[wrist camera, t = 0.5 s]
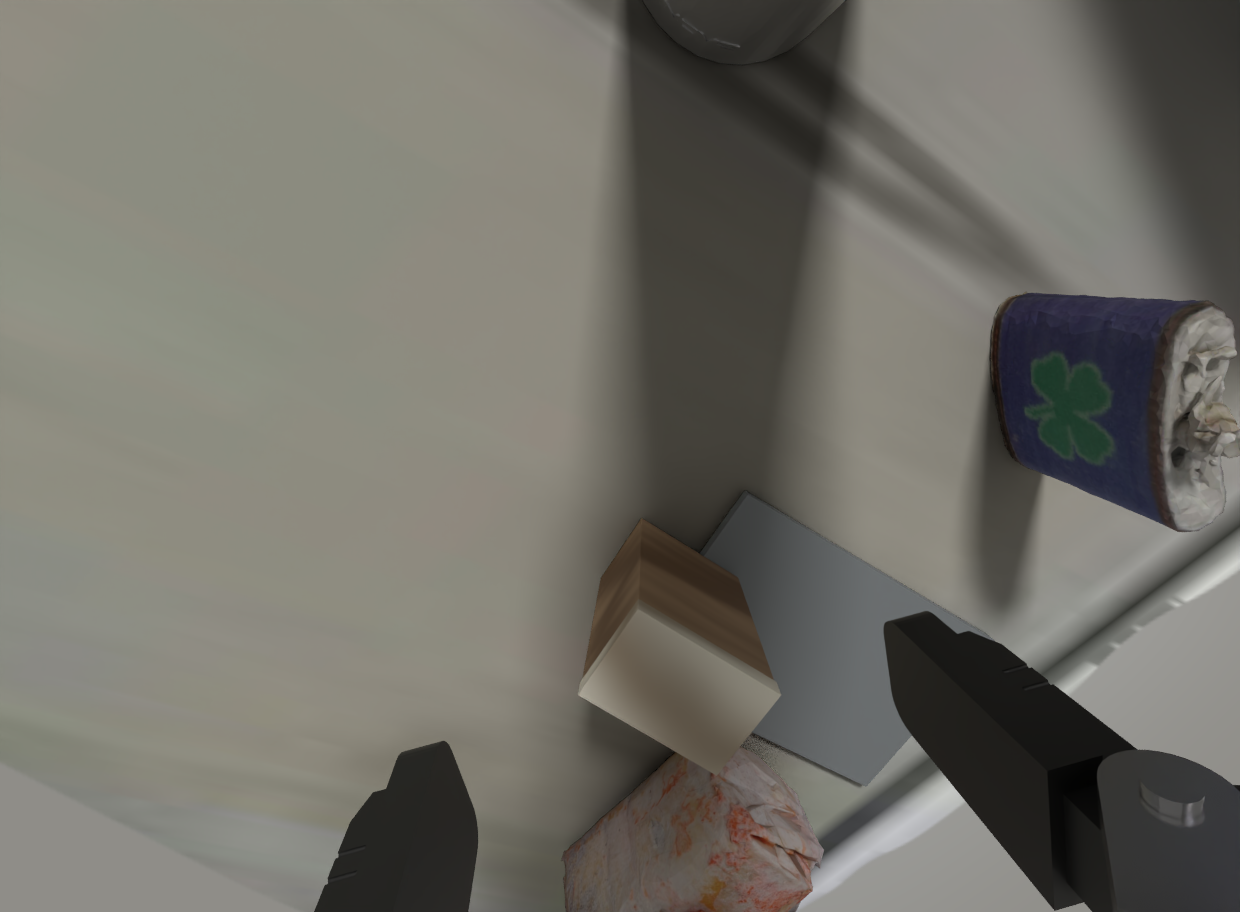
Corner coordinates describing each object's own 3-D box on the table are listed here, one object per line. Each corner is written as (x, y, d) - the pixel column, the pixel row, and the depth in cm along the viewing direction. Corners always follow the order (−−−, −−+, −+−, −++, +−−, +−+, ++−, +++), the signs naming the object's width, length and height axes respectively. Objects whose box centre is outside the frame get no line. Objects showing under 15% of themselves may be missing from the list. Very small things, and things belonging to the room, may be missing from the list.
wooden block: (641, 516, 31) (638, 609, 21) (739, 577, 31) (781, 695, 21) (599, 578, 32) (577, 694, 22) (695, 636, 32) (716, 775, 22)
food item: (706, 698, 35) (760, 857, 25) (794, 765, 37) (873, 936, 27) (550, 839, 37) (545, 1034, 28) (641, 895, 39) (666, 1094, 30)
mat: (744, 490, 31) (748, 494, 30) (988, 634, 35) (994, 640, 34) (621, 663, 33) (622, 670, 33) (861, 778, 37) (866, 786, 37)
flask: (1053, 456, 32) (1283, 545, 22) (1000, 473, 32) (1205, 570, 22) (1040, 284, 29) (1298, 293, 19) (982, 303, 29) (1209, 322, 19)
